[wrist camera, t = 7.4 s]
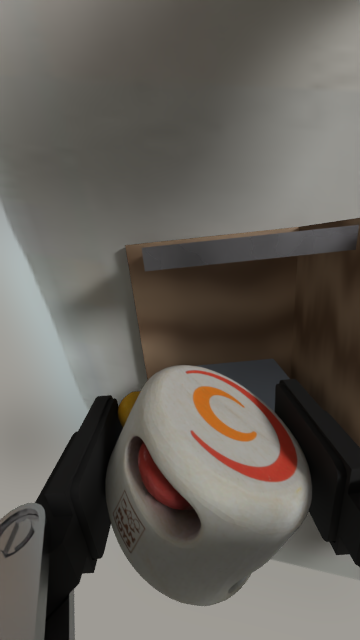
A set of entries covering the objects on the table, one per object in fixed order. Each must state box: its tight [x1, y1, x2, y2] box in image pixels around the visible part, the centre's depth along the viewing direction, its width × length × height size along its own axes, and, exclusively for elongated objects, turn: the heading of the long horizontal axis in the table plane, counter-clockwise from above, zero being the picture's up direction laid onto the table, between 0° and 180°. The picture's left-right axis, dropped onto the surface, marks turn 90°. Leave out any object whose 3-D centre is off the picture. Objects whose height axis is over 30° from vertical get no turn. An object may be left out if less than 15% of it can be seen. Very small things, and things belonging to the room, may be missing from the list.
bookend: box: [142, 225, 359, 271], centre depth 17 cm, size 1×11×10 cm, turn 96°
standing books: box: [198, 359, 290, 412], centre depth 21 cm, size 5×11×10 cm, turn 96°
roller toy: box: [105, 365, 312, 606], centre depth 8 cm, size 4×6×6 cm
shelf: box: [125, 218, 360, 447], centre depth 18 cm, size 18×18×16 cm
